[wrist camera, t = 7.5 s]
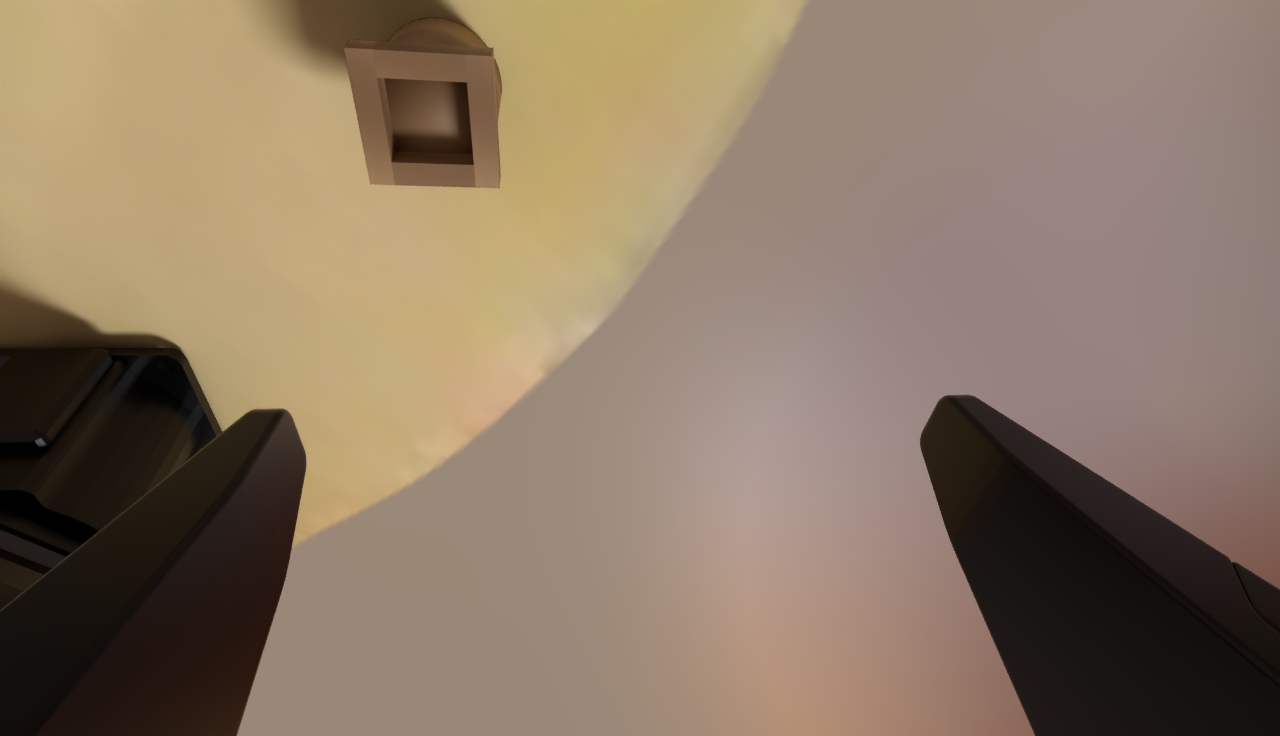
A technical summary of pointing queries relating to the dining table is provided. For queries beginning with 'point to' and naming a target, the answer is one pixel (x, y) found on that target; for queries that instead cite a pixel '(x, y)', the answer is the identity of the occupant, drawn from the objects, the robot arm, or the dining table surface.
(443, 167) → the egg cup
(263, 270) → the dining table surface
